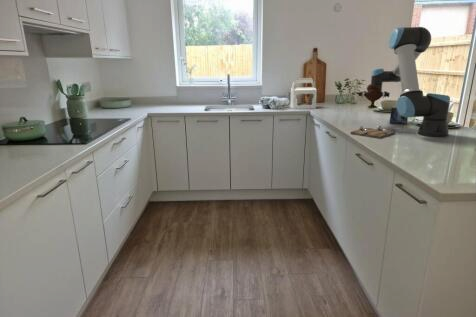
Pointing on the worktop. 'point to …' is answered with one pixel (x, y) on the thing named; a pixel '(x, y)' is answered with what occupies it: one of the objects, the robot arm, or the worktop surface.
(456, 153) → the worktop surface
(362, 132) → the stub board
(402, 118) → the small box
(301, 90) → the white lantern
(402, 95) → the robot arm
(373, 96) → the ice cream bowl
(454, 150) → the worktop surface
